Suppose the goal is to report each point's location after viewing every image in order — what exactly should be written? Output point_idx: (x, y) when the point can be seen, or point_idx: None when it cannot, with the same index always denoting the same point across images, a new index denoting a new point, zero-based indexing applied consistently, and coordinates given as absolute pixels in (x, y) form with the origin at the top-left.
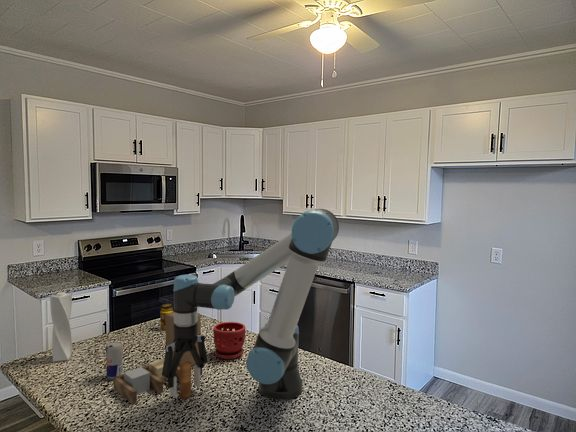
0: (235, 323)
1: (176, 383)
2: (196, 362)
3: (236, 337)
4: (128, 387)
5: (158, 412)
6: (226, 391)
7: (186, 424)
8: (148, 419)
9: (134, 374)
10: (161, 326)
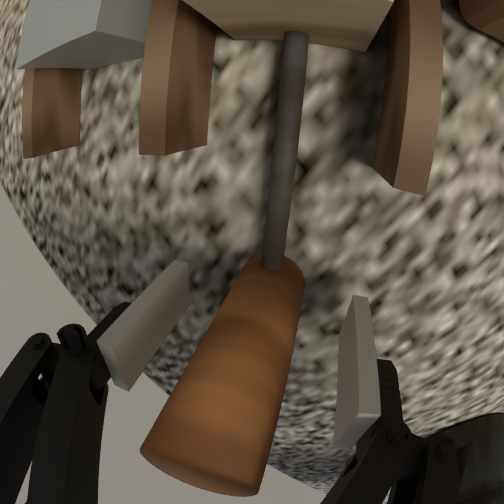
0: None
1: (149, 359)
2: (369, 455)
3: None
4: (26, 91)
5: (117, 276)
6: (403, 388)
7: (164, 382)
8: (85, 277)
9: (42, 14)
10: None
